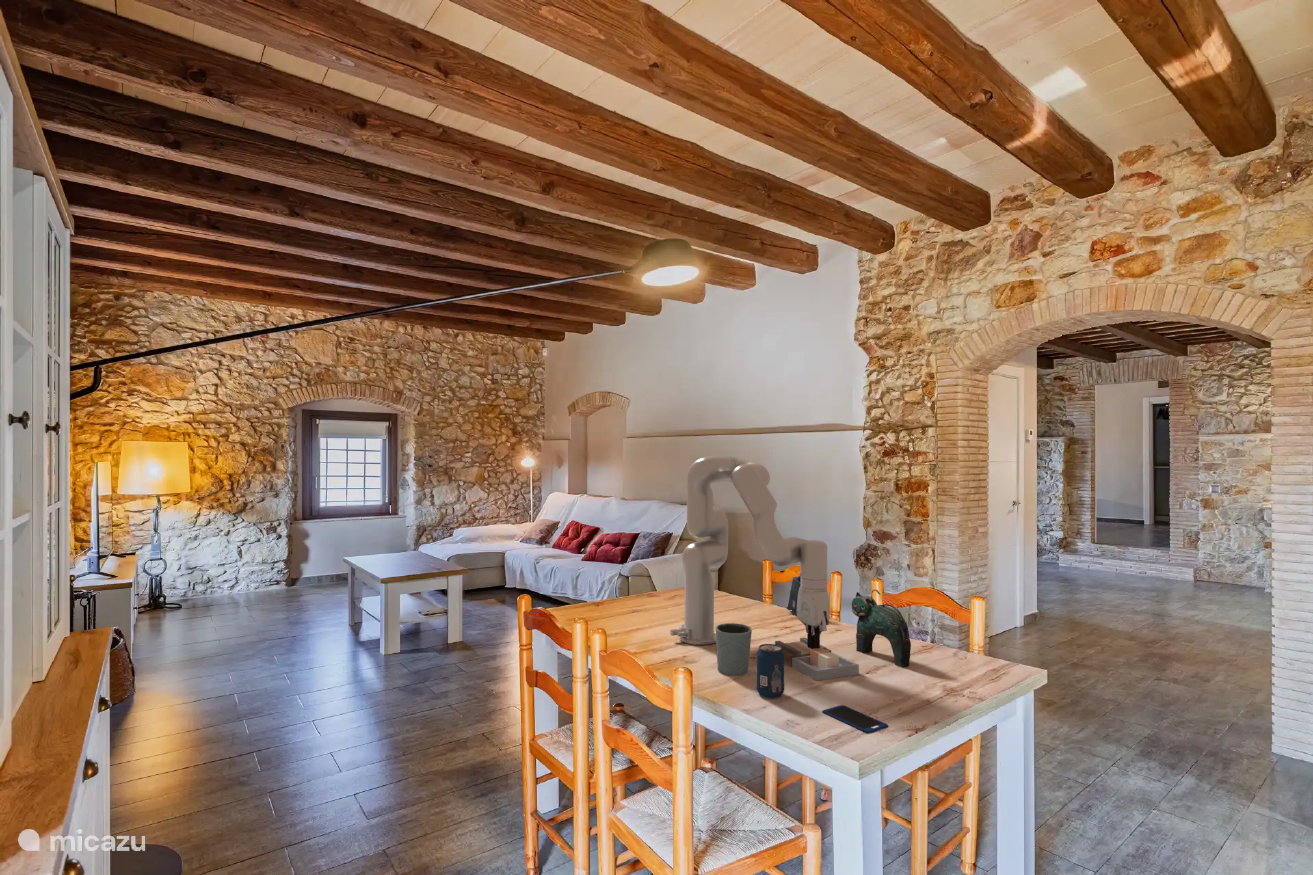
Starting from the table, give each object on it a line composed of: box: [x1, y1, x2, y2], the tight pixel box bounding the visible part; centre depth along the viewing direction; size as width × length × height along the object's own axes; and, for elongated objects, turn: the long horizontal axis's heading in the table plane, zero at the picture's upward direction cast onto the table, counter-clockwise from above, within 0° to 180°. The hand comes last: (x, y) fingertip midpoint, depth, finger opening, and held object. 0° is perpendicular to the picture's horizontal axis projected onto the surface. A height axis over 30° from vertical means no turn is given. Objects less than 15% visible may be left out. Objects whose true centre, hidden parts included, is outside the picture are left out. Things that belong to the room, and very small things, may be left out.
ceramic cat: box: [851, 589, 912, 668], centre depth 198 cm, size 20×6×20 cm, turn 27°
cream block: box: [818, 652, 840, 669], centre depth 184 cm, size 4×4×4 cm
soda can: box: [755, 643, 785, 700], centre depth 168 cm, size 7×7×12 cm
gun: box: [786, 570, 801, 617], centre depth 243 cm, size 3×17×15 cm
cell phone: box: [821, 704, 889, 734], centre depth 153 cm, size 7×14×1 cm, turn 32°
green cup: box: [715, 622, 753, 677], centre depth 185 cm, size 10×10×12 cm
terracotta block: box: [810, 648, 829, 667], centre depth 188 cm, size 4×4×4 cm
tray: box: [791, 651, 860, 681], centre depth 186 cm, size 14×12×3 cm
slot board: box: [774, 637, 832, 668], centre depth 197 cm, size 14×11×4 cm
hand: (813, 647), depth 191 cm, fingers closed
